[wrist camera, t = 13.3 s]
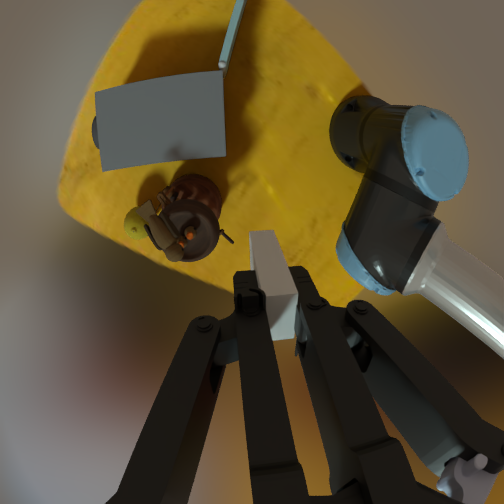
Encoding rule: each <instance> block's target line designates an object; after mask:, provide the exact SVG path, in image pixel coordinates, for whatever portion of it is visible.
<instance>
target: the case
mask: <svg viewBox="0 0 504 504" xmlns="http://www.w3.org/2000/svg"><path fill="white" fill-rule="evenodd" d="M95 105H96V116H95V118H94V120H93V123H92V137H93V141H94V143H95V145H96V147H97V148H98V149H100V157H101V164H102V171H103V172H105V171H110V170H115V169H121V168H127V167H133V166H140V165H147V164H154V163H162V162H170V161H179V160H188V159H198V158H210V157H224V156H226V137H225V114H224V88H223V70H221V71H207V72H197V73H188V74H180V75H173V76H166V77H160V78H154V79H149V80H144V81H139V82H134V83H129V84H125V85H121V86H117V87H113V88H109V89H105V90H102V91H98V92H95Z"/></svg>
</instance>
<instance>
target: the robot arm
mask: <svg viewBox="0 0 504 504" xmlns="http://www.w3.org/2000/svg"><path fill="white" fill-rule="evenodd" d="M329 134H330V141H331V145H332V148H333V150H334V152H335V154H336V155H337V157H338V158H339V159H340V160H341V162H342V163H344V164H345V165H346V166H348V167H349V168H351V169H353V170H355V171H358V172H360V173H365V174H364V176H363V179H362V181H361V184H360V187H359V189H358V192H357V194H356V196H355V199H354V201H353V204H352V206H351V208H350V210H349V213H348V215H347V217H346V220H345V221H344V222H343V224H342V230H341V233H340V235H339V238H338V241H337V243H336V253H337V255H338V259H339V261H340V263H341V265H342V266H343V267H344V269H345V270H346V271H347V272H348V273H349V274H350V275H351V276H352V277H353V278H354V279H355V280H356V281H357V282H358V283H360V284H361V285H362V286H364V287H365V288H367V289H369V290H374V291H375V292H376V293H378V294H381V295H390V294H392V293H393V292H395V291H396V290H397V291H398V292H400V293H401V294H403V295H409V294H414V293H420V294H421V295H423V296H424V297H426V298H427V299H428V300H430V301H431V302H432V303H434V304H435V305H436V306H438V307H440V308H441V309H442V310H443V311H445V312H446V313H447V314H449V315H450V316H451V317H453V318H454V319H455V320H457V321H458V322H459V323H460V324H462V325H463V326H465V327H466V328H467V329H468V330H469V331H471V332H472V333H473V334H474V335H476V336H477V337H478V338H479V339H481V340H482V341H483V342H484V343H485V344H487V345H488V346H489V347H490V348H492V349H493V350H494V351H495V352H496V353H497V354H499V355H500V356H501V357H502V358H504V278H502V277H501V276H500V275H498V274H497V273H496V272H495V271H493V270H492V269H491V268H489V267H488V266H487V265H485V264H484V263H483V262H481V261H480V260H479V259H477V258H476V257H474V256H473V255H472V254H470V253H469V252H467V251H466V250H464V249H463V248H461V247H460V246H458V245H457V244H455V243H454V242H452V241H451V240H450V239H449V238H448V236H447V232H446V229H445V225H444V223H443V222H441V221H440V220H438V219H436V218H435V217H434V216H433V215H434V212H435V210H436V208H437V206H438V203H439V201H447V200H450V199H452V198H453V197H454V194H458V193H459V192H460V190H461V189H462V187H463V185H464V183H465V180H466V177H467V173H468V166H469V156H468V148H467V146H466V142H465V137H464V135H463V133H462V131H461V129H460V127H459V126H458V124H457V123H456V122H455V120H454V119H453V118H452V117H450V116H449V115H448V114H446V113H444V112H443V111H440V110H437V109H432V108H429V107H426V106H422V105H417V106H406V105H404V106H403V105H390V104H388V103H386V102H385V101H383V100H381V99H379V98H376V97H373V96H355V97H351V98H349V99H347V100H345V101H344V102H342V103H341V104H340V105H339V106H338V107H337V109H336V110H335V112H334V114H333V116H332V119H331V122H330V129H329ZM249 236H250V264H251V270H248V271H237V272H236V273H235V275H234V276H233V283H234V304H235V310H234V312H233V313H232V314H231V315H230V316H229V317H227V318H225V319H222V320H218V319H216V318H215V317H212V316H200V317H197V318H195V319H193V320H192V321H191V322H190V324H189V326H188V328H187V330H186V332H185V334H184V336H183V339H182V341H181V343H180V345H179V347H178V350H177V352H176V354H175V356H174V358H173V360H172V363H171V365H170V367H169V369H168V372H167V374H166V376H165V378H164V381H163V383H162V385H161V387H160V390H159V392H158V395H157V397H156V399H155V401H154V403H153V406H152V408H151V410H150V413H149V415H148V417H147V420H146V422H145V424H144V427H143V429H142V431H141V434H140V436H139V439H138V441H137V443H136V446H135V448H134V451H133V453H132V456H131V458H130V461H129V463H128V465H127V468H126V470H125V473H124V475H123V478H122V480H121V483H120V485H119V488H118V491H117V492H116V494H114V496H112V497H111V498H110V499H109V500H108V501H107V502H106V504H187V503H188V500H189V496H190V492H191V489H192V486H193V482H194V479H195V475H196V472H197V468H198V464H199V461H200V457H201V454H202V450H203V447H204V443H205V440H206V436H207V433H208V429H209V425H210V422H211V418H212V415H213V411H214V408H215V404H216V400H217V397H218V393H219V390H220V386H221V382H222V379H223V375H224V372H225V368H226V364H229V363H232V362H235V361H238V360H239V366H240V377H241V389H242V400H243V410H244V421H245V430H246V441H247V450H248V459H249V469H250V479H251V488H252V495H253V504H484V502H485V501H486V499H487V496H488V495H489V493H490V490H491V488H492V486H493V484H494V482H495V479H496V477H497V475H498V473H499V472H500V471H502V470H503V469H504V431H502V430H501V429H499V428H497V427H495V426H493V425H491V424H489V423H488V422H486V421H484V420H482V419H481V417H480V416H479V415H478V414H477V413H476V412H475V411H474V409H473V408H472V407H471V406H470V405H469V404H468V403H467V402H466V401H465V399H464V398H463V397H462V396H461V395H460V394H459V393H458V392H457V391H456V389H454V387H453V386H452V385H451V384H450V383H449V382H448V381H447V380H446V379H445V378H444V377H443V376H442V375H441V373H440V372H439V371H438V370H437V369H436V368H435V367H434V366H433V365H432V364H431V363H430V362H429V361H428V360H427V359H426V358H425V357H424V356H423V355H422V354H421V353H420V352H419V351H418V350H417V349H416V348H415V347H414V346H413V345H412V344H411V343H410V342H409V341H408V340H407V339H406V338H405V337H404V336H403V335H402V334H401V333H400V332H399V331H398V330H397V329H396V328H395V327H394V326H393V325H392V324H391V323H390V322H389V321H388V320H387V319H386V318H385V317H384V316H383V315H382V314H381V313H380V312H379V311H378V310H377V309H376V308H374V307H373V306H372V305H371V304H370V303H368V302H366V301H363V300H353V301H351V302H349V303H348V305H347V308H343V307H335V306H331V305H330V304H329V302H328V301H327V300H326V299H324V298H322V297H320V295H319V293H318V291H317V289H316V287H315V285H314V283H313V282H312V279H311V277H310V275H309V273H308V271H307V270H306V269H305V268H304V267H302V266H292V267H288V266H287V263H286V260H285V258H284V255H283V253H282V250H281V248H280V245H279V243H278V240H277V238H276V235H275V233H274V230H265V231H249ZM294 333H296V336H297V340H296V348H295V356H297V354H299V358H300V361H301V365H302V368H303V372H304V375H305V379H306V383H307V386H308V390H309V393H310V397H311V401H312V405H313V408H314V412H315V416H316V419H317V423H318V427H319V430H320V434H321V438H322V442H323V446H324V449H325V453H326V457H327V461H328V464H329V469H330V478H329V482H330V488H331V492H332V495H330V496H309V494H308V490H307V485H306V480H305V476H304V472H303V469H302V466H301V464H300V463H299V462H298V459H297V455H296V450H295V445H294V440H293V436H292V431H291V426H290V421H289V417H288V412H287V407H286V403H285V397H284V393H283V388H282V383H281V378H280V374H279V369H278V364H277V360H276V355H275V350H274V345H273V340H282V339H290V338H294ZM373 398H374V399H375V400H376V402H377V403H378V404H379V406H380V407H381V408H382V410H383V411H384V412H385V414H386V415H387V416H388V418H389V419H390V420H391V421H392V423H393V424H394V425H395V427H396V428H397V429H398V430H399V432H400V433H401V434H402V436H403V437H404V439H405V440H406V441H407V442H408V444H409V445H410V446H411V448H412V449H413V450H414V452H415V453H416V454H417V456H418V457H419V458H420V460H421V461H422V462H423V463H424V464H425V465H426V467H428V468H429V469H430V470H431V471H432V472H433V473H434V474H436V475H437V476H439V477H440V479H439V480H438V482H437V488H438V490H440V491H444V492H445V493H446V494H447V496H446V495H444V494H441V493H439V492H437V491H435V490H433V489H431V488H428V487H427V486H425V485H422V484H421V483H419V482H417V481H416V480H415V478H414V475H413V472H412V470H411V467H410V464H409V462H408V459H407V456H406V454H405V451H404V449H403V446H402V445H401V443H400V441H399V440H397V439H396V438H393V437H390V436H389V435H388V433H387V431H386V429H385V426H384V424H383V421H382V419H381V416H380V414H379V412H378V409H377V407H376V404H375V402H374V400H373Z"/></svg>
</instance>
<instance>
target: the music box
mask: <svg viewBox="0 0 504 504" xmlns="http://www.w3.org/2000/svg"><path fill="white" fill-rule="evenodd" d="M157 199H158V200H159V201H160V202H161V203H160V204H162V211H161V212H160V214H159V216H157V214H156V210H157V209H158V207H159V206H160V204H159V206H158V207H157V209H156V210H155V209H154V207H153V204H152V202H151V200H148V201H147V202H145V203H144V204H143V205H142V206H141V207H139V208H138V209H136V213H137V214H139V215H140V216H141V217H142V218H143V219H145V220H146V221H147V222H149V226H148V225H147V224H145V225H144V228H145V230H146V232H147V234H148V236H149V237H150V239H151V241H152V242H153V244H154V245H155V247H156V248H157V249H158V250H163V251H164V252H165V254H166V257H167V258H168V260H170V261H172V262H177V261H182V262H194V261H198V260H201V259H203V258H205V257H206V256H208V255H209V254H210V253H211V252H212V251H213V250H214V248H215V247H216V245H217V243H218V240H219V235H221V234H222V235H223V236H224V237H225V238H226V239H227V240H228V241H229V242H230V243H232V244H234V241H233V240H232V239H231V238H230V237H228V236H227V235H226V234H225V233H224V230H223V229H221V230H220V227H219V222H218V219H219V217H220V214H221V195H220V192H219V190H218V188H217V186H216V185H215V184H214V183H213V182H212V181H211V180H210V179H208V178H206V177H204V176H201V175H197V174H189V175H185V176H182V177H180V178H178V179H176V180H175V181H174V182H173V183H172V184H171V185H170V186H167V187H166V188H165V189H164V190H163V191H162V192H159V194H158V195H157Z"/></svg>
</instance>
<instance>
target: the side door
mask: <svg viewBox="0 0 504 504" xmlns="http://www.w3.org/2000/svg"><path fill="white" fill-rule="evenodd" d="M246 2H247V0H236V3H235V7H234V10H233V13H232V16H231V20H230V23H229V26H228V30H227V33H226V37H225V41H224V44H223V48H222V52H221V55H220V59H219V63H218V64H219V71H221V70H223V78H225V77H226V74H227V70H228V66H229V62H230V58H231V54H232V51H233V47H234V43H235V39H236V36H237V32H238V29H239V25H240V22H241V18H242V15H243V12H244V8H245V5H246Z"/></svg>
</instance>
